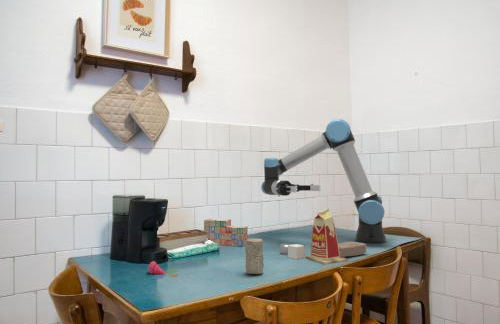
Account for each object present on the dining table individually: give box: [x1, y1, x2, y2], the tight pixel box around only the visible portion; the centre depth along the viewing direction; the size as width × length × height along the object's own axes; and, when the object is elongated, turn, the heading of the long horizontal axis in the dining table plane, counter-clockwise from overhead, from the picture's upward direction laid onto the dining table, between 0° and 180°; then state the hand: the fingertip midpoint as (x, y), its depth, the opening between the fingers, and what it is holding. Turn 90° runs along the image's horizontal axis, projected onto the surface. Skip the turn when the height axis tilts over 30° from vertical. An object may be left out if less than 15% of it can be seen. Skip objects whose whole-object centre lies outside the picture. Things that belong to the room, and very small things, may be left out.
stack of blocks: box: [203, 218, 249, 248], centre depth 187 cm, size 21×6×12 cm, turn 68°
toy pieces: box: [147, 260, 179, 279], centre depth 132 cm, size 12×11×4 cm
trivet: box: [304, 255, 349, 265], centre depth 153 cm, size 12×12×1 cm
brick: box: [338, 241, 367, 258], centre depth 161 cm, size 17×8×5 cm, turn 125°
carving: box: [244, 237, 265, 275], centre depth 132 cm, size 6×8×12 cm
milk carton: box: [310, 207, 340, 260], centre depth 154 cm, size 9×9×20 cm
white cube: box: [287, 243, 306, 260], centre depth 157 cm, size 5×5×5 cm
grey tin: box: [279, 243, 292, 256], centre depth 165 cm, size 5×5×4 cm
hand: (308, 188), depth 171 cm, fingers open, 13 cm apart
